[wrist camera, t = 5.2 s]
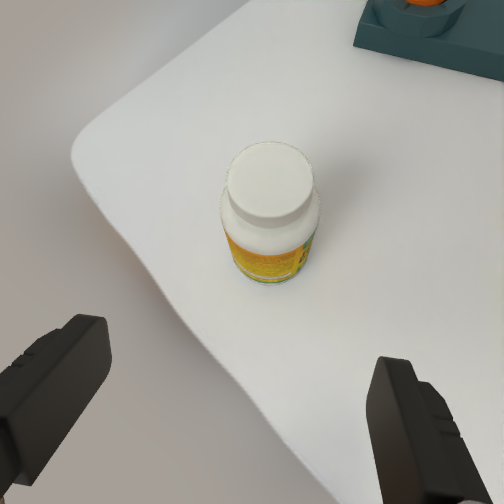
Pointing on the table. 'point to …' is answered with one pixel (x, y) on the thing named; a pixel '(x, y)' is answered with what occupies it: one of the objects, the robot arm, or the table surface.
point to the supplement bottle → (270, 211)
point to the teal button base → (438, 33)
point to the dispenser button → (425, 2)
